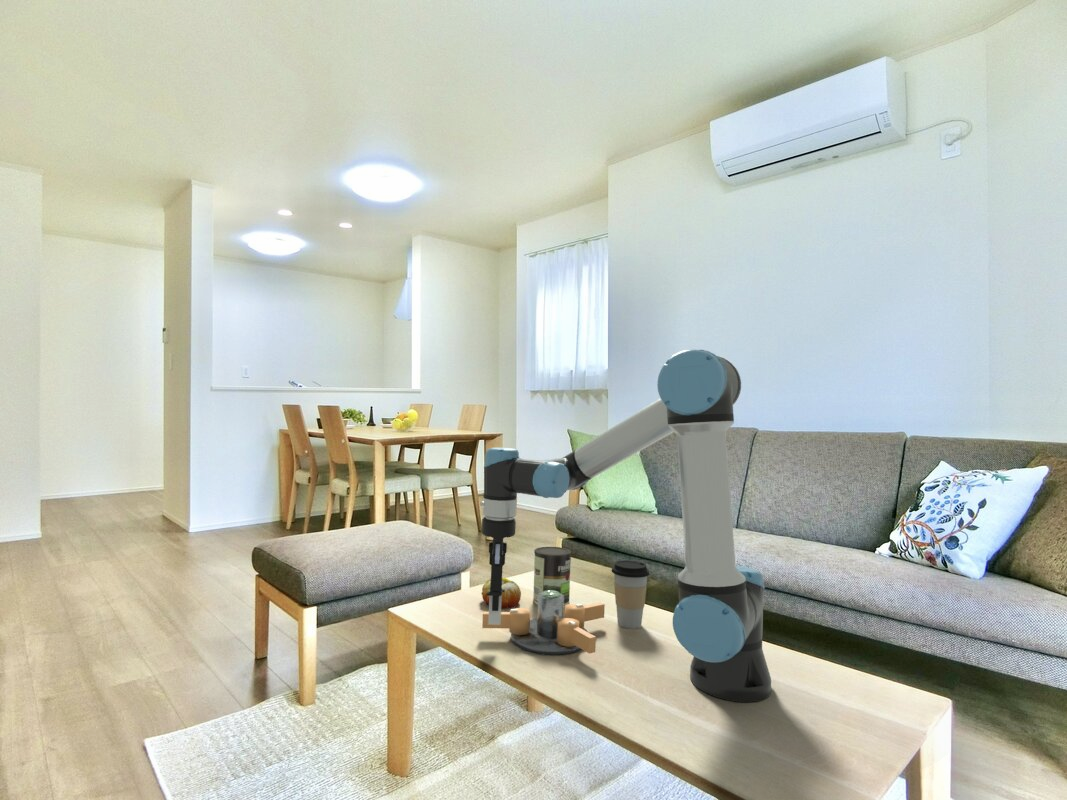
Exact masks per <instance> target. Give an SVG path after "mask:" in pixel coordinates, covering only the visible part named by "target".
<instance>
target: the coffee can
mask: <svg viewBox="0 0 1067 800" xmlns="http://www.w3.org/2000/svg"><path fill="white" fill-rule="evenodd" d="M571 556H572V551H571V550H570V549H568V548H565V547H560V546H542V547H541V546H540V547H537V548H535V549H534V564H533V565H534V566H533V568H534V569H533V573H534V574H533V598H532V601H533V603H534V604H536V605H537V606H538V594H539V593H541V592H543V591H547V590H553V591H557V592H559V593H561V594H563V595H564V607H565V605H568V604H571V601H570V595H571V594H570V593H571V592H570V590H571V587H570V586H571V584H570V583H571V563H572V562H571V561H572V560H571V558H572V557H571Z"/></svg>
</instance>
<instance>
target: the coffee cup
mask: <svg viewBox="0 0 1067 800" xmlns="http://www.w3.org/2000/svg"><path fill="white" fill-rule="evenodd" d="M647 567H648V566H647V564H646V563H644V562H642V561H638V560H630V559H624V560H617V561H615V562H614V565H613V566H612V567H611V573H612V574H613V575H614V582H613V584H614V597H615V598H614V599H615V605H616V620H617V624H618V626H620V627H622V628H624V629H638V628H641V626H642V623H643V614H644V608H645V603H646V596H647V587H648V585H647V581H648V576H650V569H649V568H647Z"/></svg>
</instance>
